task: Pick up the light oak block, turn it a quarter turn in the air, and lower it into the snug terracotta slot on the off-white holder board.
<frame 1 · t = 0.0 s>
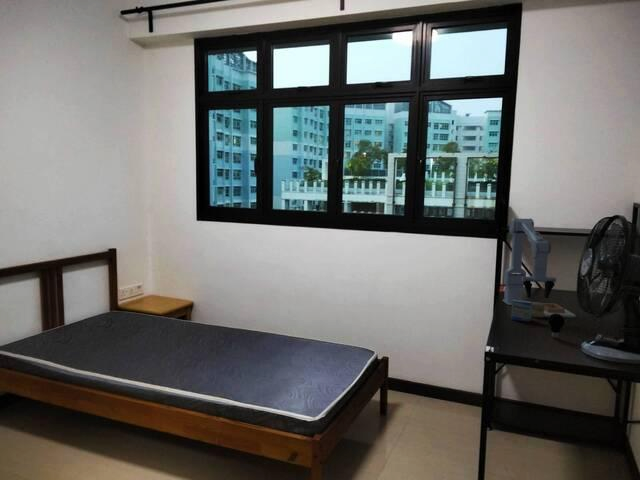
hand: (537, 297, 211), 10 cm above the table, tool pointing down, fingers open, 7 cm apart
holder: (551, 311, 225), on the table
light bulb: (554, 338, 186), on the table
oak block: (535, 316, 218), on the table
medicine box: (520, 320, 211), on the table
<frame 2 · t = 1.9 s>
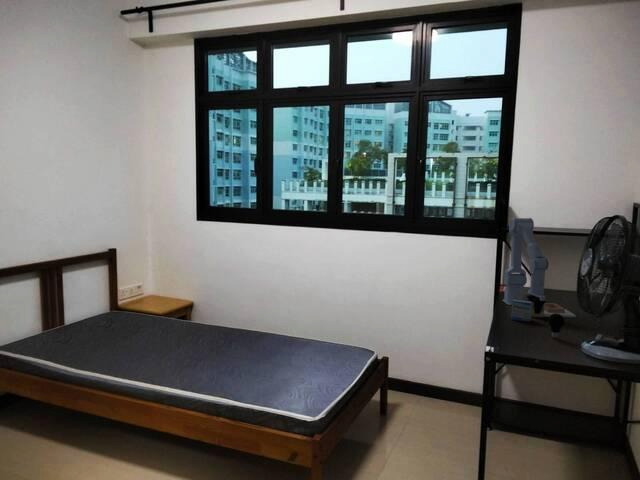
hand: (535, 312, 218), 2 cm above the table, tool pointing down, fingers closed on oak block, 4 cm apart
oak block: (535, 315, 218), on the table, touching gripper
everything else where it was.
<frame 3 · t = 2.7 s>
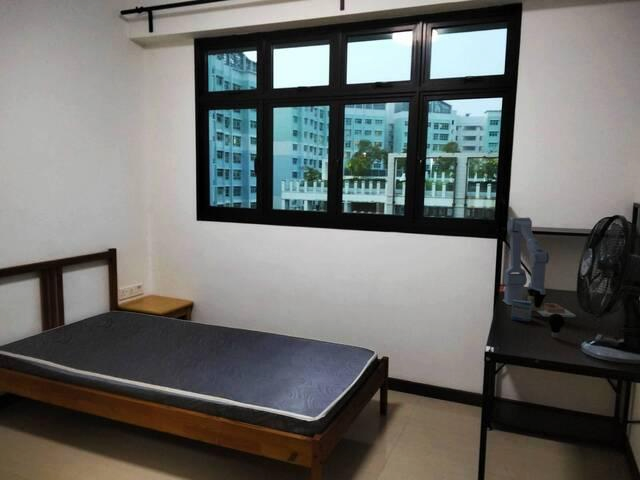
hand: (535, 306, 217), 5 cm above the table, tool pointing down, fingers closed on oak block, 4 cm apart
oak block: (535, 309, 218), point 3 cm above the table, touching gripper
everything else where it was.
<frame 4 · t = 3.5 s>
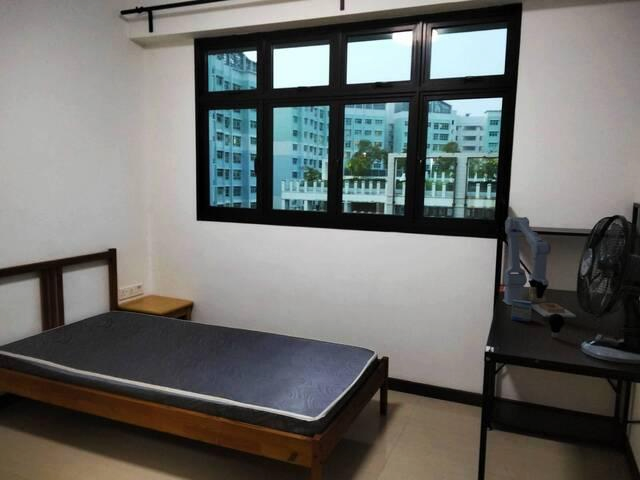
hand: (537, 296, 217), 9 cm above the table, tool pointing down, fingers closed on oak block, 4 cm apart
oak block: (536, 300, 217), point 7 cm above the table, touching gripper
everything else where it was.
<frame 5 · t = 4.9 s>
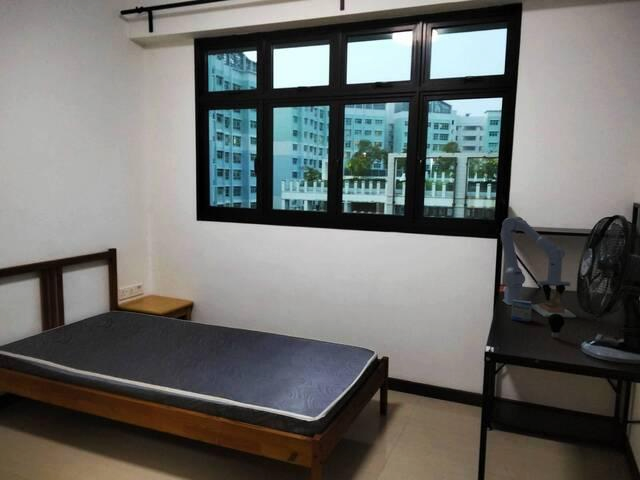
hand: (552, 300, 225), 5 cm above the table, tool pointing down, fingers closed on oak block, 4 cm apart
oak block: (552, 304, 225), point 4 cm above the table, touching gripper
everything else where it was.
when the fingers open (4 cm above the table, at t = 5.6 s): oak block drops 1 cm, resting on holder.
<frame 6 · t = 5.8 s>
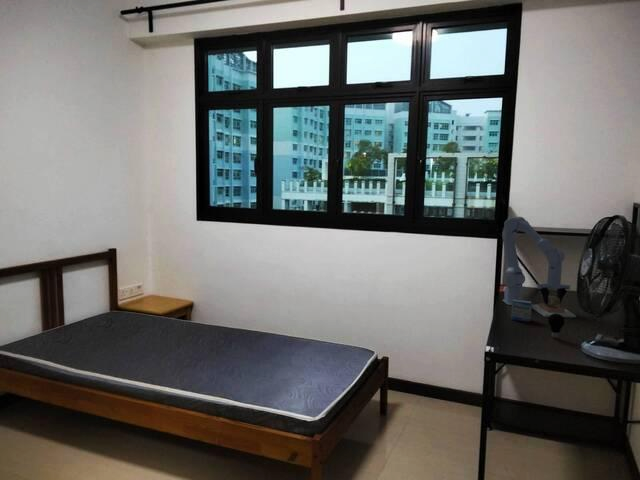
hand: (552, 303, 225), 4 cm above the table, tool pointing down, fingers open, 5 cm apart
oak block: (551, 309, 225), point 1 cm above the table, touching holder
everything else where it was.
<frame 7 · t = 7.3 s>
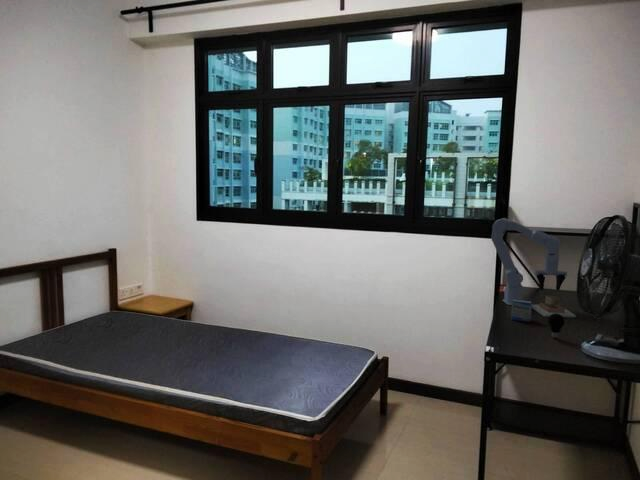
hand: (549, 289, 230), 9 cm above the table, tool pointing down, fingers open, 7 cm apart
nothing on the table moved.
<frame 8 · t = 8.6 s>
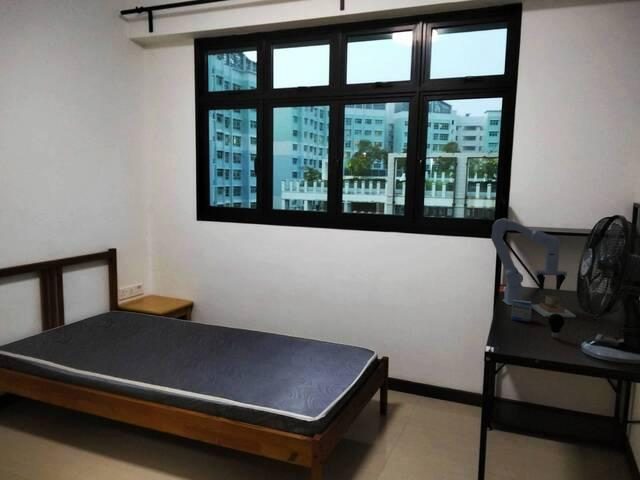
hand: (549, 289, 230), 9 cm above the table, tool pointing down, fingers open, 7 cm apart
nothing on the table moved.
at the end: oak block 0.1 cm off-centre on the holder, point 1.0 cm above the holder's base; oak block tilted 0°; the gripper is holding nothing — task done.
